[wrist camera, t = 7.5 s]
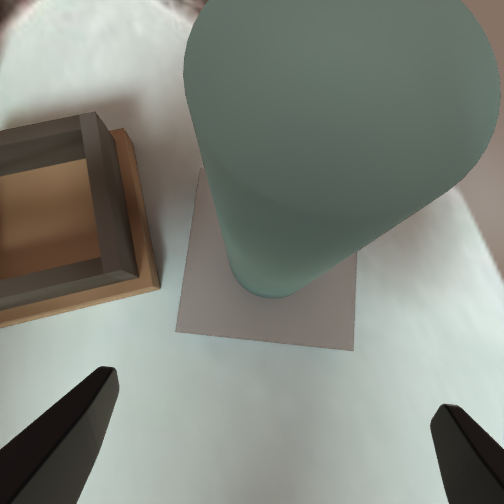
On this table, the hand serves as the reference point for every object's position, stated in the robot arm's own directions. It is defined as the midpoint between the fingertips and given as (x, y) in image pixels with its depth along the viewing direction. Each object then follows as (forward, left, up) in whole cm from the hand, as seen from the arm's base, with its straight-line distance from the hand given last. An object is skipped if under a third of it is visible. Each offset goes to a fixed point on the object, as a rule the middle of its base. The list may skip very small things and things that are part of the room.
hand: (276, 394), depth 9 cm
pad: (+6, +1, -9) cm, 10 cm away
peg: (+6, +1, -7) cm, 9 cm away
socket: (+5, +13, -9) cm, 16 cm away
